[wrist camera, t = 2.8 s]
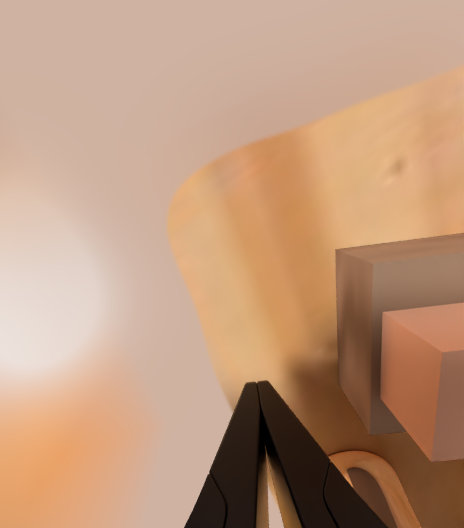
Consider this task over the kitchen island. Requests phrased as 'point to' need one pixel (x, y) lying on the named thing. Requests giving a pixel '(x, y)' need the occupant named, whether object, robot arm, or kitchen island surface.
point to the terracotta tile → (426, 376)
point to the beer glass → (377, 487)
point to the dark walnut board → (387, 309)
